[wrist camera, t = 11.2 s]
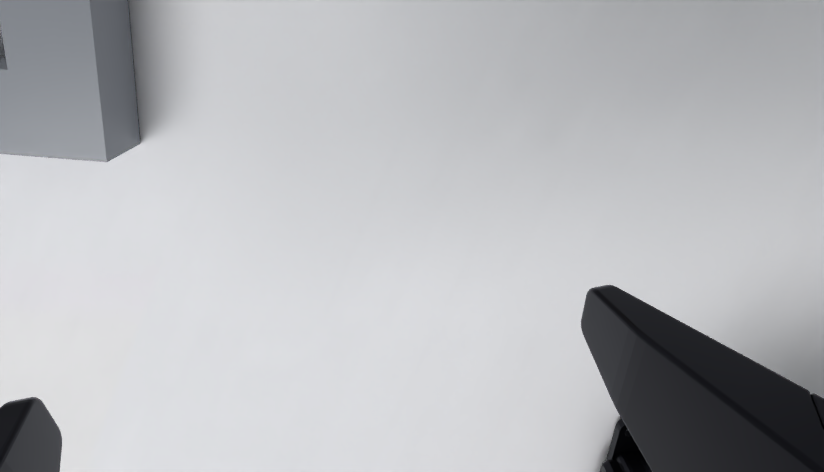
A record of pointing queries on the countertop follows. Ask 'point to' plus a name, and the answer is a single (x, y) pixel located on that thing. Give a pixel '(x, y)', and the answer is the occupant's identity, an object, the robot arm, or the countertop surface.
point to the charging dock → (67, 79)
